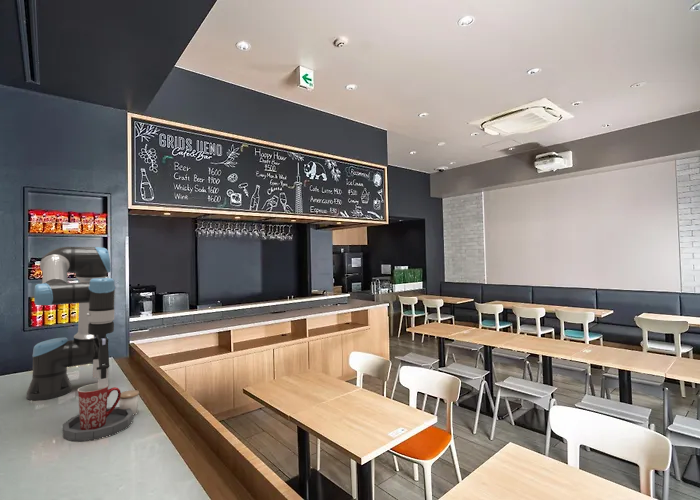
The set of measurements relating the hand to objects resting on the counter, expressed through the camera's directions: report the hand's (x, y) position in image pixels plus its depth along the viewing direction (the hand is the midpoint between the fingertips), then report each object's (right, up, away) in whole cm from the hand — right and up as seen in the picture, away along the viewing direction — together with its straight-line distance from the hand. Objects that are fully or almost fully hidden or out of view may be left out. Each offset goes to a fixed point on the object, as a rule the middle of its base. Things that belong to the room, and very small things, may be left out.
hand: (99, 382), depth 128 cm
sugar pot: (+4, -16, +10) cm, 19 cm away
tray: (0, -16, -1) cm, 16 cm away
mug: (0, -15, -1) cm, 15 cm away
